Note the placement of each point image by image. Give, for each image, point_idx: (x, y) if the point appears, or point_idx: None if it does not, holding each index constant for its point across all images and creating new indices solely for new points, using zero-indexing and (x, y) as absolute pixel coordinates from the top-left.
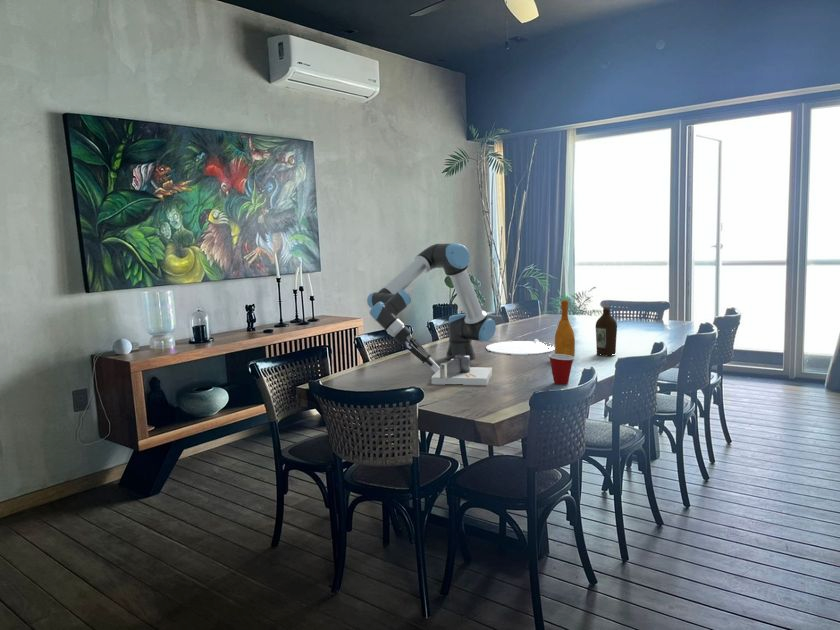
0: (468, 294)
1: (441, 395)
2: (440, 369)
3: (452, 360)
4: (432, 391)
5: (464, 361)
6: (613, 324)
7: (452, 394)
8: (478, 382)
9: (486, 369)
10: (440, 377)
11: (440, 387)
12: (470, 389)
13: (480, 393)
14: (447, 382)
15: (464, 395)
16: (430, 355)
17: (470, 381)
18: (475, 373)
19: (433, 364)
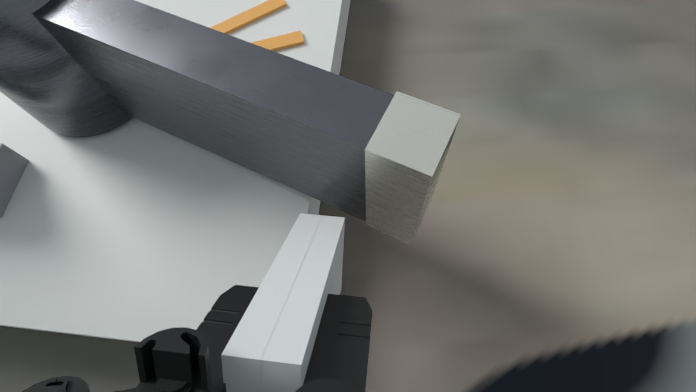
0: None
1: (687, 235)
2: (424, 203)
3: (179, 48)
4: (570, 325)
5: None
6: None
7: (630, 158)
8: (346, 8)
9: None
10: (412, 239)
11: (417, 266)
12: (462, 60)
13: (558, 6)
14: (315, 209)
15: (635, 84)
16: (183, 339)
17: (339, 46)
18: (181, 7)
19: (328, 294)
